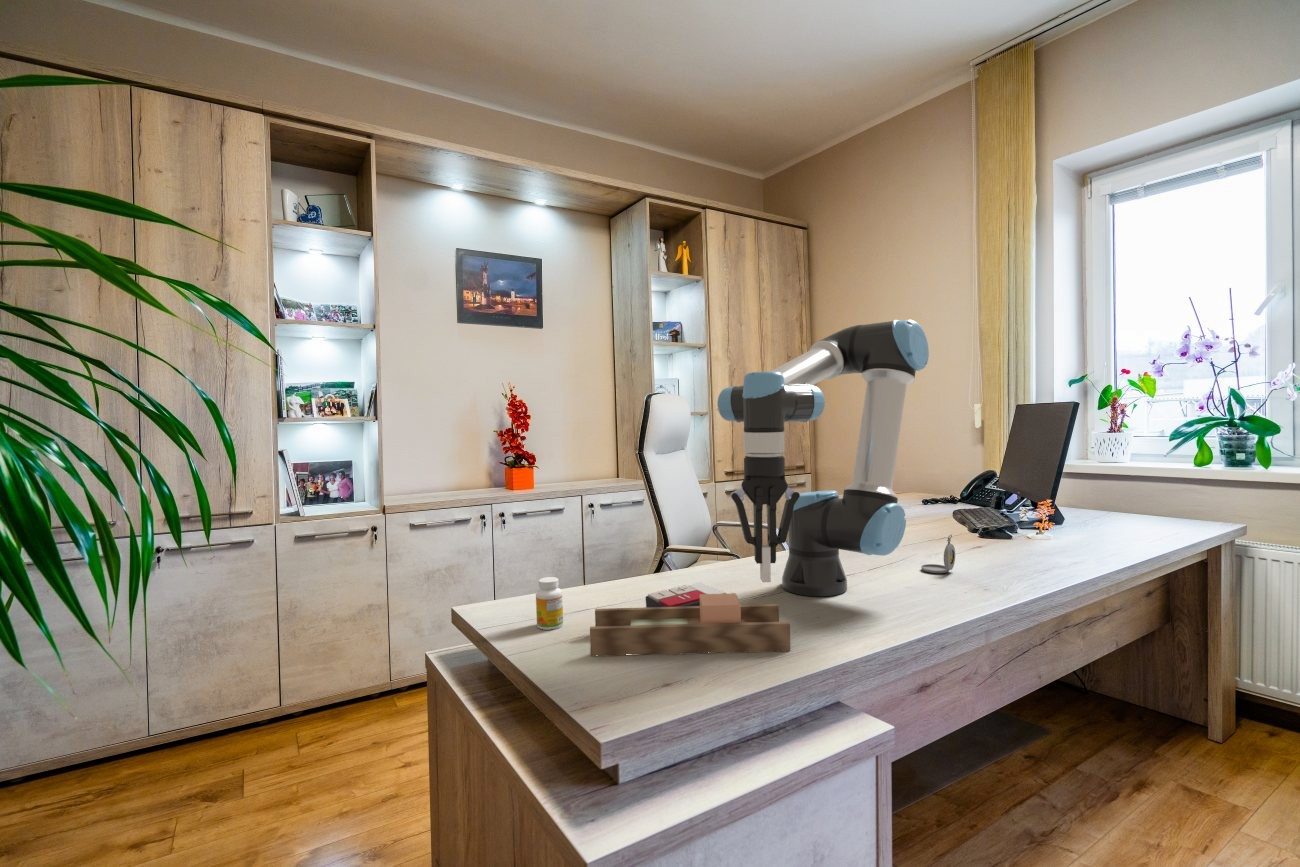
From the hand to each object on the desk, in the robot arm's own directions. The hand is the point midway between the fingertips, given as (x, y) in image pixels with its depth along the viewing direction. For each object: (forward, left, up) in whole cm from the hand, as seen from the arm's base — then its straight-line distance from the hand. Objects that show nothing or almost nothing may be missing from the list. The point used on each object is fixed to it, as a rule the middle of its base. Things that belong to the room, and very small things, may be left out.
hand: (765, 580), depth 121 cm
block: (+9, 0, -9) cm, 12 cm away
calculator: (+14, -20, -12) cm, 28 cm away
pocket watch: (-52, -44, -12) cm, 70 cm away
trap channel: (+15, 0, -12) cm, 19 cm away
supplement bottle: (+43, -11, -12) cm, 46 cm away
